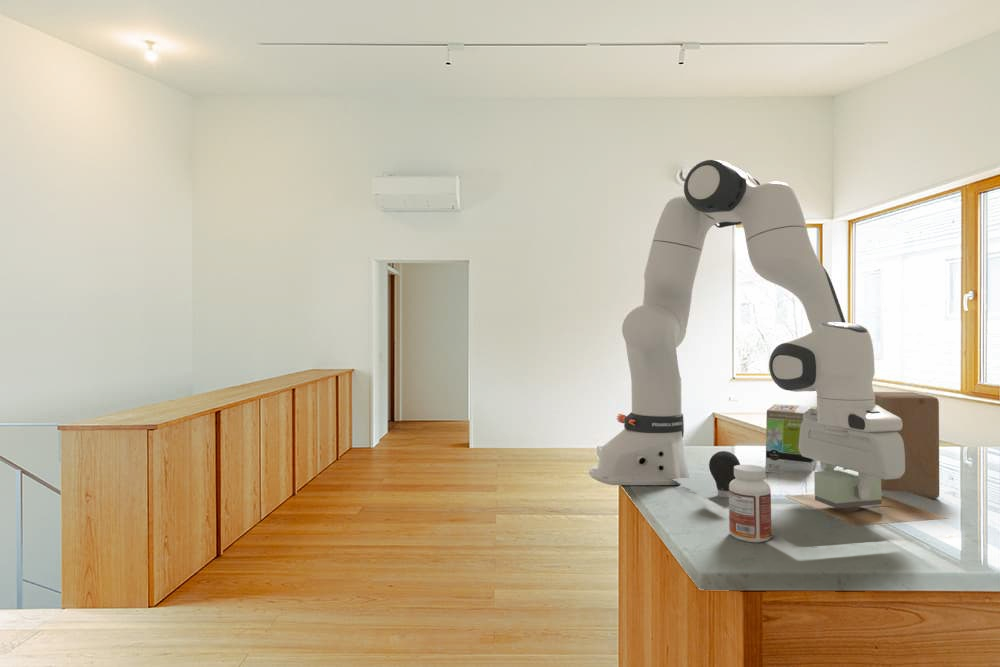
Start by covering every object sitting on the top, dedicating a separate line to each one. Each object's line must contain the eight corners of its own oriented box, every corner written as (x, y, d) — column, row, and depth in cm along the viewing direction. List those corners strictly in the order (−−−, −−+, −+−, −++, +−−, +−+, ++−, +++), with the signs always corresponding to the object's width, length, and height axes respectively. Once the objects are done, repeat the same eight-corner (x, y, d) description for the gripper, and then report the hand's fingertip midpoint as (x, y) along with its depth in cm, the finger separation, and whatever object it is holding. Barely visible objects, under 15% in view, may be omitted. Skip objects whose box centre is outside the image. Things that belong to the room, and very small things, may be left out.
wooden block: (941, 500, 111) (941, 397, 111) (884, 498, 113) (883, 396, 113) (915, 487, 121) (915, 391, 121) (863, 484, 123) (862, 391, 123)
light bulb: (737, 509, 106) (737, 455, 106) (706, 505, 109) (706, 452, 109) (743, 502, 111) (742, 450, 111) (712, 497, 114) (712, 447, 114)
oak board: (855, 534, 93) (854, 525, 93) (785, 503, 110) (785, 495, 110) (949, 527, 96) (949, 518, 96) (867, 498, 113) (867, 490, 113)
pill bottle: (760, 530, 95) (760, 463, 95) (778, 543, 89) (778, 472, 89) (723, 530, 95) (722, 463, 95) (738, 543, 89) (738, 472, 89)
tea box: (813, 478, 128) (813, 412, 128) (764, 473, 134) (764, 409, 134) (818, 465, 141) (817, 405, 141) (773, 460, 146) (772, 402, 146)
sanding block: (836, 508, 98) (835, 478, 98) (814, 500, 103) (814, 471, 103) (881, 504, 100) (881, 475, 100) (858, 496, 104) (857, 468, 104)
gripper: (789, 407, 111) (790, 479, 111) (877, 423, 91) (879, 511, 91) (818, 406, 112) (819, 477, 112) (911, 421, 92) (913, 508, 92)
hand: (847, 493), depth 101 cm, fingers closed on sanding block, 5 cm apart
